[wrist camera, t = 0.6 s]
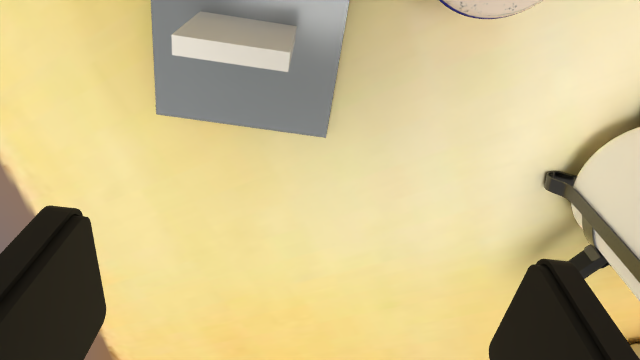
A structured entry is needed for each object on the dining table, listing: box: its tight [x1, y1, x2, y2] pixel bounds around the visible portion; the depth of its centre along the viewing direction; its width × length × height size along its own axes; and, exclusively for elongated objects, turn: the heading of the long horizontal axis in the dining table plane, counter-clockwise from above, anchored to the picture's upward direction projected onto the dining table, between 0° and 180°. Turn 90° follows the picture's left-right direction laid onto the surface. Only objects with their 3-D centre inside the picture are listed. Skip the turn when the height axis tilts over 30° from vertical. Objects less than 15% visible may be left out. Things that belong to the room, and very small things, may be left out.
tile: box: [171, 11, 297, 72], centre depth 29 cm, size 1×7×7 cm, turn 82°
